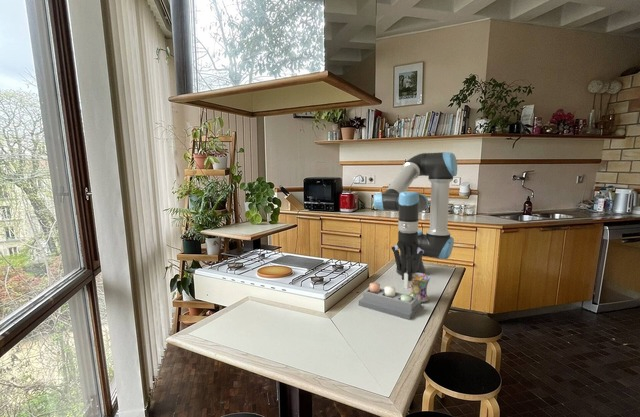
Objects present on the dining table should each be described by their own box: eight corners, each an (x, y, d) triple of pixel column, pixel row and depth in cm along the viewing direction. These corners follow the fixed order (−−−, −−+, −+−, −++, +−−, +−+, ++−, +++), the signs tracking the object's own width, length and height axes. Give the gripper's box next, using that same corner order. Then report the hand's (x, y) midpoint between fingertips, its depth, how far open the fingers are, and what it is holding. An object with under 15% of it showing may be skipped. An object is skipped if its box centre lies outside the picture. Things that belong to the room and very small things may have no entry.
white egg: (387, 293, 132) (387, 285, 131) (396, 295, 129) (397, 287, 129) (382, 296, 128) (382, 288, 128) (392, 299, 126) (392, 291, 125)
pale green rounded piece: (402, 301, 128) (402, 293, 127) (413, 304, 125) (413, 296, 125) (398, 305, 124) (398, 297, 124) (409, 308, 122) (409, 299, 121)
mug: (433, 299, 135) (434, 276, 133) (421, 306, 129) (422, 281, 127) (409, 291, 144) (410, 269, 142) (397, 297, 138) (398, 274, 136)
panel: (373, 294, 141) (373, 283, 141) (421, 306, 129) (421, 294, 128) (358, 305, 130) (358, 294, 129) (409, 319, 117) (409, 307, 117)
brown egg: (372, 289, 136) (372, 281, 135) (381, 291, 133) (381, 284, 133) (367, 292, 132) (367, 285, 132) (377, 295, 130) (377, 287, 129)
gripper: (388, 231, 122) (387, 287, 125) (421, 234, 114) (419, 295, 118) (395, 227, 128) (395, 281, 131) (427, 231, 120) (425, 288, 124)
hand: (406, 287), depth 124 cm, fingers closed
